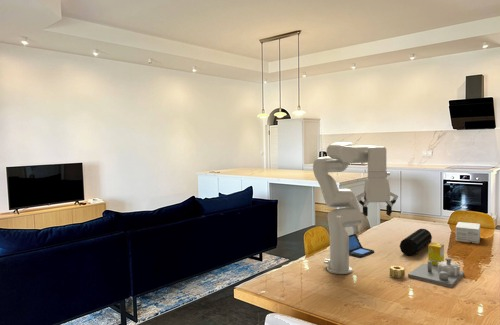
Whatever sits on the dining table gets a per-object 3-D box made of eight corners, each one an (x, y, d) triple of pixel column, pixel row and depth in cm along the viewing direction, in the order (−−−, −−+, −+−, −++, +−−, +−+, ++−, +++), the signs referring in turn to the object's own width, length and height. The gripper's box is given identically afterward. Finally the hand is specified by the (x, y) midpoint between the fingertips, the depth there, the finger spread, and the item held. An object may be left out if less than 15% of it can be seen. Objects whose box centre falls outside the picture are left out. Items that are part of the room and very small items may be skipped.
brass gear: (391, 278, 175) (391, 270, 174) (388, 273, 181) (388, 265, 181) (406, 278, 174) (406, 270, 173) (402, 273, 180) (402, 265, 180)
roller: (416, 237, 240) (421, 223, 238) (431, 244, 234) (437, 230, 232) (396, 251, 211) (402, 236, 209) (413, 259, 205) (419, 243, 203)
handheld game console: (360, 258, 206) (360, 242, 205) (340, 253, 216) (340, 238, 215) (375, 252, 216) (375, 237, 215) (355, 247, 226) (355, 233, 225)
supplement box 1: (432, 262, 196) (432, 242, 195) (444, 265, 191) (444, 244, 191) (427, 265, 191) (428, 244, 191) (440, 268, 187) (440, 247, 186)
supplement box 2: (457, 235, 250) (457, 221, 249) (480, 237, 243) (480, 223, 242) (455, 241, 236) (455, 226, 236) (479, 243, 229) (479, 229, 228)
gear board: (408, 277, 176) (408, 260, 175) (423, 266, 190) (423, 250, 190) (451, 287, 163) (451, 269, 162) (464, 275, 177) (464, 258, 176)
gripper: (394, 174, 159) (394, 213, 160) (354, 175, 159) (354, 214, 160) (401, 175, 151) (401, 216, 152) (358, 176, 151) (359, 217, 152)
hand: (377, 215), depth 156 cm, fingers open, 9 cm apart
